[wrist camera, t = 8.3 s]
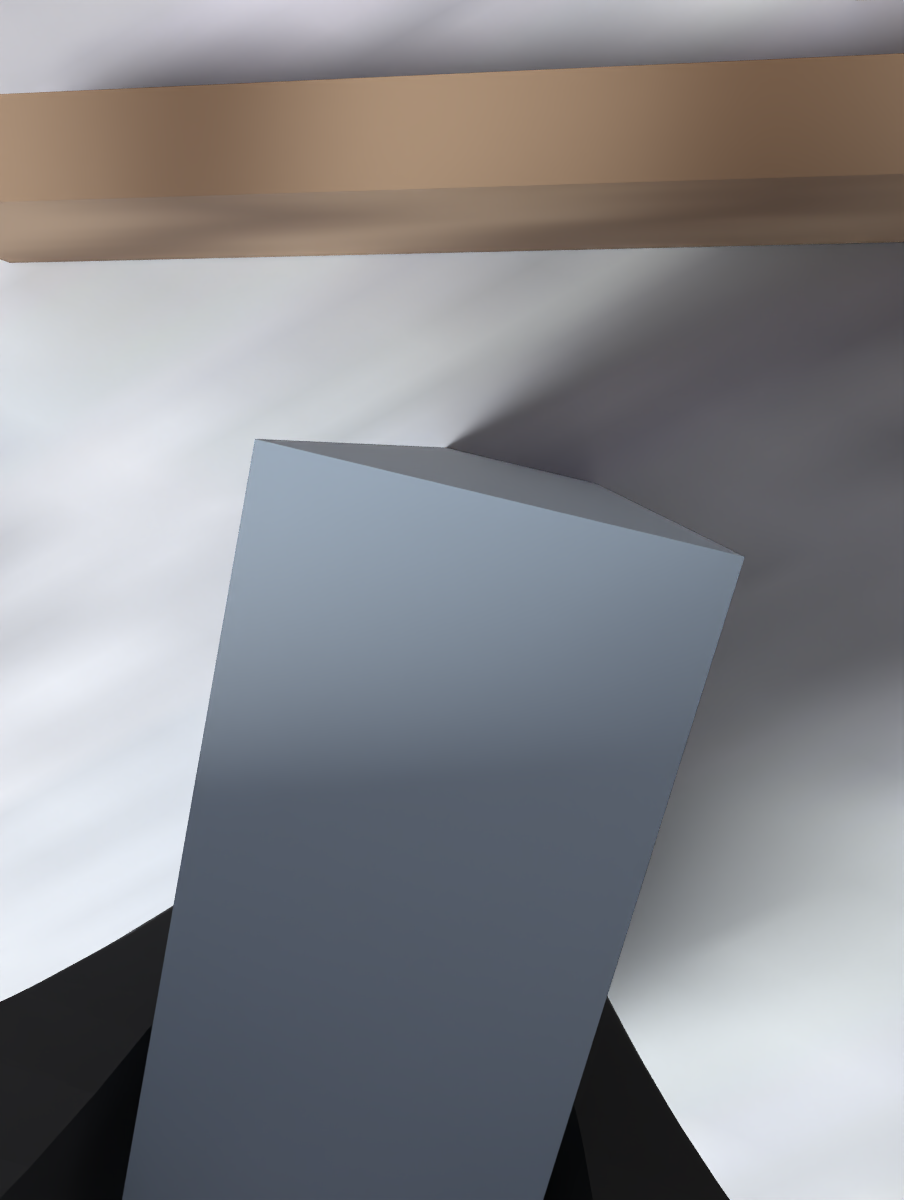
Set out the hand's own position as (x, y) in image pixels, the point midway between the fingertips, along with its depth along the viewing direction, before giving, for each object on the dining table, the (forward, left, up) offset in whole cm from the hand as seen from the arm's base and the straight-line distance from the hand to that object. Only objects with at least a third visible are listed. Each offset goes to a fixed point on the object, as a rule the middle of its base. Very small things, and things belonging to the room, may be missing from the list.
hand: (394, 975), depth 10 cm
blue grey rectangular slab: (0, 0, -4) cm, 5 cm away
